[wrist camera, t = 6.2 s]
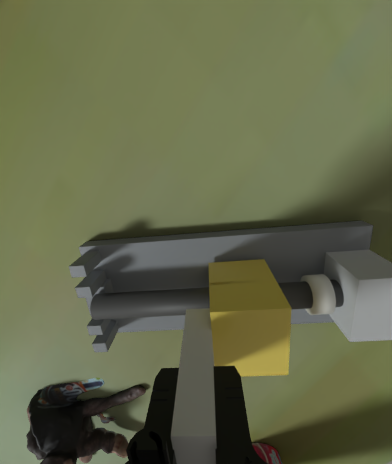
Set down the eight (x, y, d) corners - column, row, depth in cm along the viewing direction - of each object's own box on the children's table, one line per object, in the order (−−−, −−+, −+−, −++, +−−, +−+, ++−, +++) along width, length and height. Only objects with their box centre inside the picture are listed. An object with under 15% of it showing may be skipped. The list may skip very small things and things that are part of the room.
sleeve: (212, 312, 18) (215, 377, 13) (208, 262, 17) (209, 312, 12) (264, 310, 18) (288, 374, 13) (264, 259, 16) (291, 308, 11)
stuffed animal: (11, 444, 26) (-36, 481, 16) (67, 352, 32) (56, 341, 22) (108, 480, 27) (115, 533, 18) (144, 385, 33) (165, 387, 24)
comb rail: (108, 323, 21) (80, 373, 16) (86, 241, 18) (45, 272, 14) (348, 311, 19) (394, 361, 15) (362, 220, 17) (422, 246, 12)
